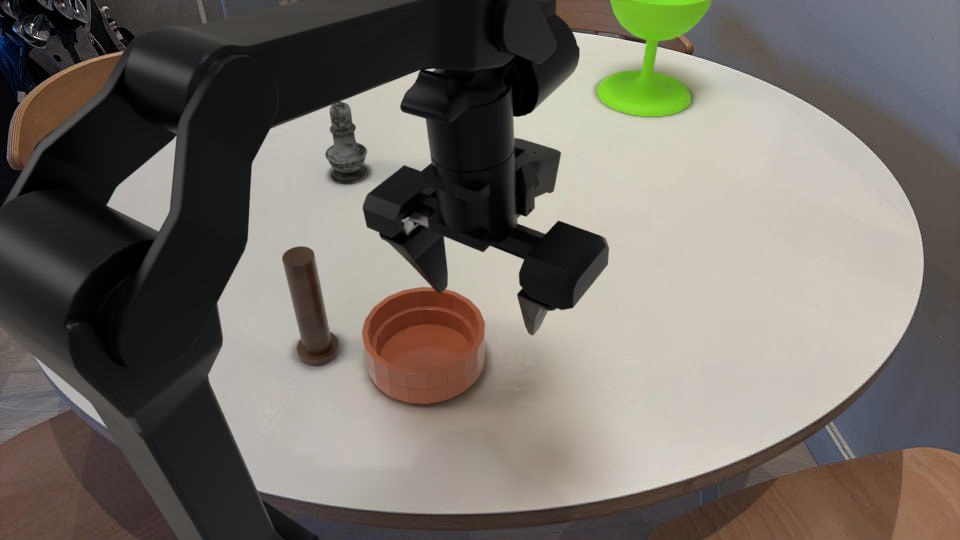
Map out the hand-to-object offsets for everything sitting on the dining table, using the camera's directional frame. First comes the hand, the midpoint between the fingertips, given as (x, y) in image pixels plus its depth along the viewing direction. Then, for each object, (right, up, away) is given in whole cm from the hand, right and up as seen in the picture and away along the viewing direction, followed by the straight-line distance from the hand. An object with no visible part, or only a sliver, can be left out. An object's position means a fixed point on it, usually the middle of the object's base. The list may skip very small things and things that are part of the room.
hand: (486, 309), depth 58 cm
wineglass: (+28, +33, +63) cm, 76 cm away
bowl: (-6, -6, +16) cm, 18 cm away
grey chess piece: (-19, +17, +43) cm, 51 cm away
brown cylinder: (-18, -5, +17) cm, 25 cm away
